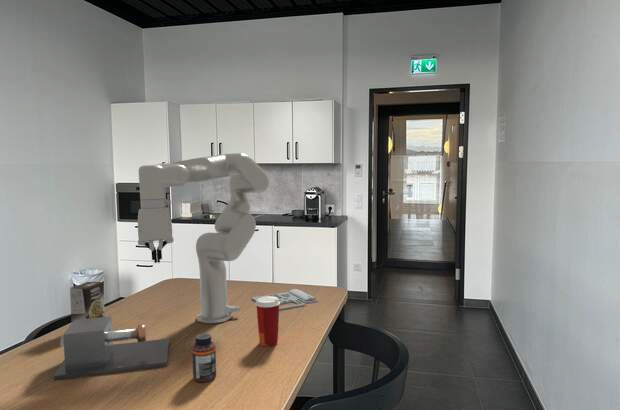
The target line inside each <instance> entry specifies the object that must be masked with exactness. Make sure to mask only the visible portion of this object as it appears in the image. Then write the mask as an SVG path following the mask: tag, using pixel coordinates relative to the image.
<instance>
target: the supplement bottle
mask: <svg viewBox="0 0 620 410" xmlns="http://www.w3.org/2000/svg"><path fill="white" fill-rule="evenodd" d="M216 354H217V353H216V343H214V341H212V334H211V333H203V332H202V333H200V334H197V335H196V336H195V342H194V344H193V345H192V347H191V355H192V357H191V359H192V378H193V380H194V381H196V382H199V383H207V382H210V381H212V380H214V379H215V378H216V377H217V355H216Z"/></svg>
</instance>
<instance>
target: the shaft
mask: <svg viewBox="0 0 620 410" xmlns="http://www.w3.org/2000/svg"><path fill="white" fill-rule="evenodd" d="M147 333H148V332H147V324H146V323H141V324H137V328H136V327H135V328H129V329H119V330H118V329H117V330H112V331H108V332H107V339H108V342H113V343H114V342H123V341H133V340H137V342H146V341H147ZM59 343H60V347H61V348H64V340H63V335H62V336H61V337H60V342H59Z"/></svg>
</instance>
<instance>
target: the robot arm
mask: <svg viewBox="0 0 620 410" xmlns="http://www.w3.org/2000/svg"><path fill="white" fill-rule="evenodd" d="M228 177H230V178H229V183H228V184H229V189H230V198H229V201H228V203H227V204H226V206H225V207H224V209H223V210H222V212H221V213H220V215H219V216H218V217H217V219H216V220H215V223H214V230H215V232H206V233H205V232H204V233H202V234H201V235H199V237H198V238H197V240H196V242H195V252H196V256H197V259H198V268H199V293H200V294H199V295H200V297H199V299H200V313H198V314H197V315H196V321H197V322H199V323H201V324H210V325H211V324H219V323H225V322H227V321H228V320H230V319H232V317H233V313H239V312H241V306H240V305H239V306H237V305H229V303H228V285H227V268H226V264H225V262H234V261H235V260H237V259H238V258H239V257H240V256H241V255H242V253H243V252H244V250H245V248H246V247H247V245H248V244H249V242H250V241H251V239H252V238H253V237H254V234H255V231H256V228H257V227H256V226H257V224H256V223H257V222H256V219H255V217H254V216H253V214H251V213H249V212H250V211H251V201H250V200H249V194H261V193H264V192H266V191H267V189H268V188H269V185H270V180H269V176H268V174H267V173H266V171H264V169H263V168H262V167H261V166H260V165H259V164H258V163H257V162H256V161H255V160H254V159H253V158H252V157H250V156H249V155H248V154H246V153H242V152H237V153H235V152H234V153H232V152H231V153H221V154H214V155H208V156H201V157H197V158H196V157H195V158H190V159H184V160H179V161H172V162H171V161H169V162H164V163H163V162H162V163H158V164H146V165H141V166H140V167H139V168H138V181H139V182H138V183H139V184H138V185H139V195H140V196H139V199H140V209H138V215H137V236H138V240H137V245H139V246H144V247H146V248H147V249H149V250H150V251H151V261H154V262H153V263H154V264H157V263H158V264H160V263H161V260H163V254H162V253H163V248H164V247H165V246H166V245H169V244H171V243H174V240H175V239H174V237H173V224H172V218H171V217H172V216H171V211H170V208H169V207H167V206H169V205H171V204H172V203H171V200H169V199H167V198H166V197H167V195H166V188H180V187H183V186H185V185H186V184H187V183H201V182H209V181H214V180H218V179H222V178H228ZM156 241H157V242H158V246H157V247H155V244H154V242H156Z"/></svg>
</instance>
